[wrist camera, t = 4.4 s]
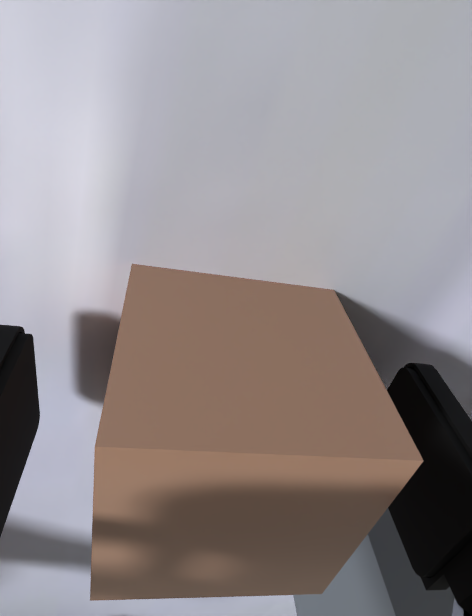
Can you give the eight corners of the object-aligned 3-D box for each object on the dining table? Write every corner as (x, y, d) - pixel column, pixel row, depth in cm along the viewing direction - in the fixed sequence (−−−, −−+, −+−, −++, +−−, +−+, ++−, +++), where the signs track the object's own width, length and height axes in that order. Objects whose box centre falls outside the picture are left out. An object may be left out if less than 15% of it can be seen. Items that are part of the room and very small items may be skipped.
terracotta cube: (332, 288, 11) (423, 460, 7) (280, 417, 13) (321, 594, 9) (132, 262, 10) (95, 446, 6) (120, 407, 12) (90, 600, 8)
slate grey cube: (442, 501, 18) (518, 646, 14) (371, 555, 20) (417, 692, 16) (349, 480, 16) (403, 639, 12) (283, 542, 19) (311, 691, 15)
